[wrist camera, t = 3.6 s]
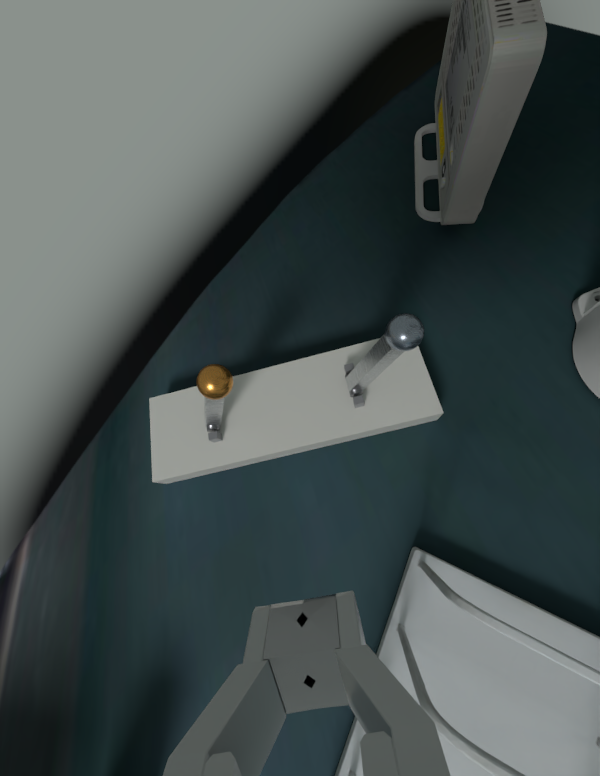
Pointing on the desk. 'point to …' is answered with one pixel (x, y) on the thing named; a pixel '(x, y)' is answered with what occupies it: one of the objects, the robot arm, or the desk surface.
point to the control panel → (288, 412)
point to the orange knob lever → (214, 393)
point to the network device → (478, 101)
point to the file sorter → (490, 676)
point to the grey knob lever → (385, 351)
